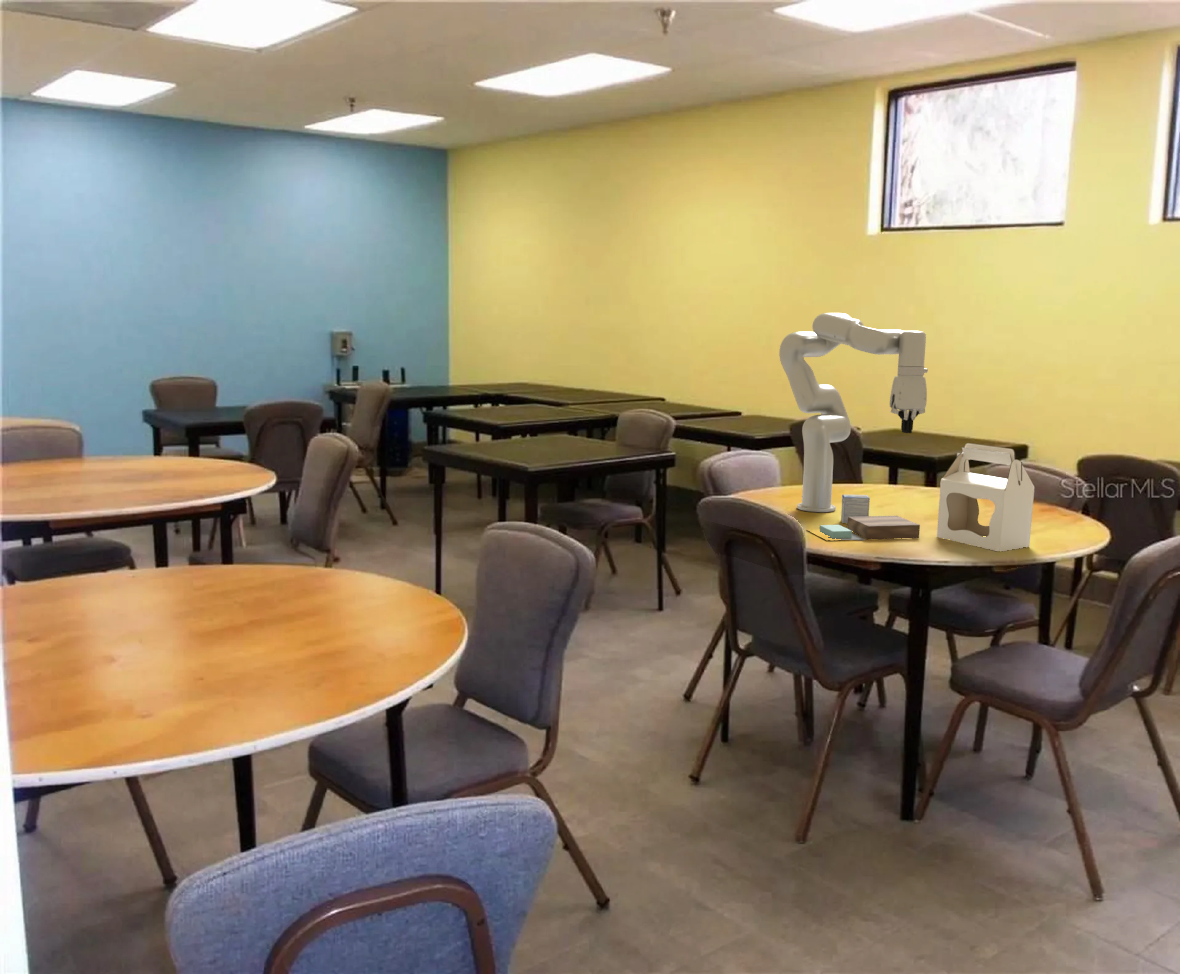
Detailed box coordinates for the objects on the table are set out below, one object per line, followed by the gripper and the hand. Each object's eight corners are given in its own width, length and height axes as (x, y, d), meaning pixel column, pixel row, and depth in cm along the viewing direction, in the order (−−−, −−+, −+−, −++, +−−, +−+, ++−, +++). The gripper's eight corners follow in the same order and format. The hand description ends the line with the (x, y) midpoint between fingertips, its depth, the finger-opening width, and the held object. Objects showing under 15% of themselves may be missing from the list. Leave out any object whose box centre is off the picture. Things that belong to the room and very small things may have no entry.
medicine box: (866, 521, 323) (867, 494, 321) (868, 524, 318) (870, 497, 317) (840, 521, 324) (842, 494, 322) (842, 523, 319) (844, 496, 318)
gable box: (935, 537, 301) (942, 442, 297) (965, 532, 308) (972, 440, 304) (1000, 552, 283) (1008, 452, 278) (1030, 547, 290) (1039, 449, 285)
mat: (806, 530, 308) (806, 529, 308) (843, 529, 310) (843, 528, 310) (826, 541, 294) (826, 540, 293) (865, 540, 296) (865, 539, 296)
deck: (847, 529, 310) (847, 516, 309) (896, 528, 313) (897, 515, 312) (867, 539, 296) (868, 526, 296) (918, 538, 299) (919, 524, 299)
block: (838, 524, 306) (838, 531, 306) (819, 525, 305) (819, 531, 305) (852, 530, 297) (851, 537, 298) (832, 531, 296) (832, 538, 296)
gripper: (927, 371, 314) (923, 431, 317) (881, 371, 311) (878, 431, 314) (939, 373, 306) (935, 434, 309) (893, 372, 303) (889, 434, 307)
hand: (906, 432), depth 312 cm, fingers closed
